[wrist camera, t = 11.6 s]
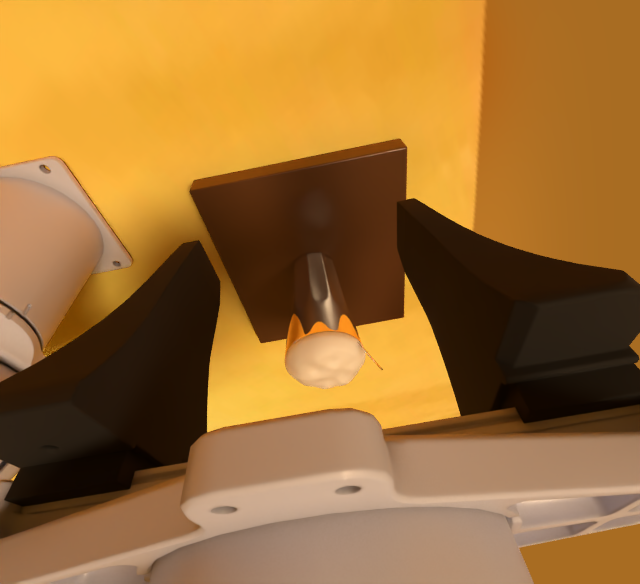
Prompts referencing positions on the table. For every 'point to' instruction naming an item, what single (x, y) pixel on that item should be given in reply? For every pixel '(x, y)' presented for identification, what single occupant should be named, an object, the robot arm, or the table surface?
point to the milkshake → (320, 327)
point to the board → (311, 230)
